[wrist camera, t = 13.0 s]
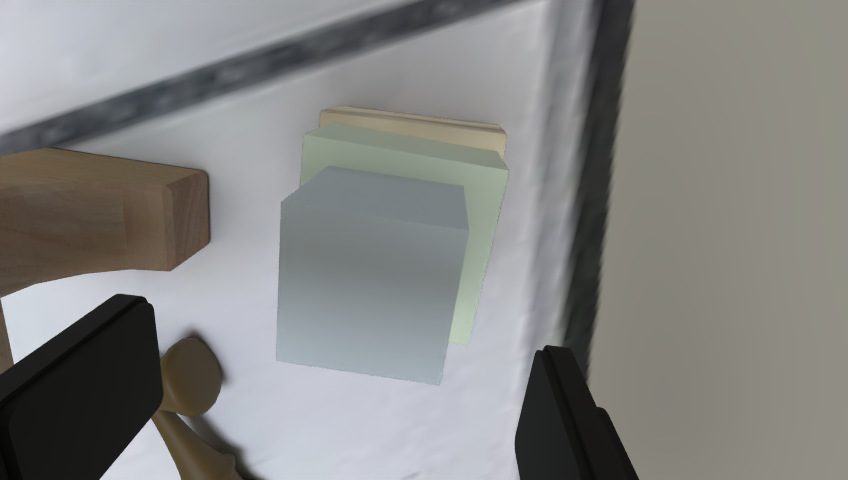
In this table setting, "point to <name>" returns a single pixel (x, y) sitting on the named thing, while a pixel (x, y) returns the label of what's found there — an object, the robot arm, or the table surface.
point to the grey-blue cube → (370, 273)
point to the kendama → (191, 410)
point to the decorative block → (93, 219)
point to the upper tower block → (428, 162)
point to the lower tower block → (420, 127)
